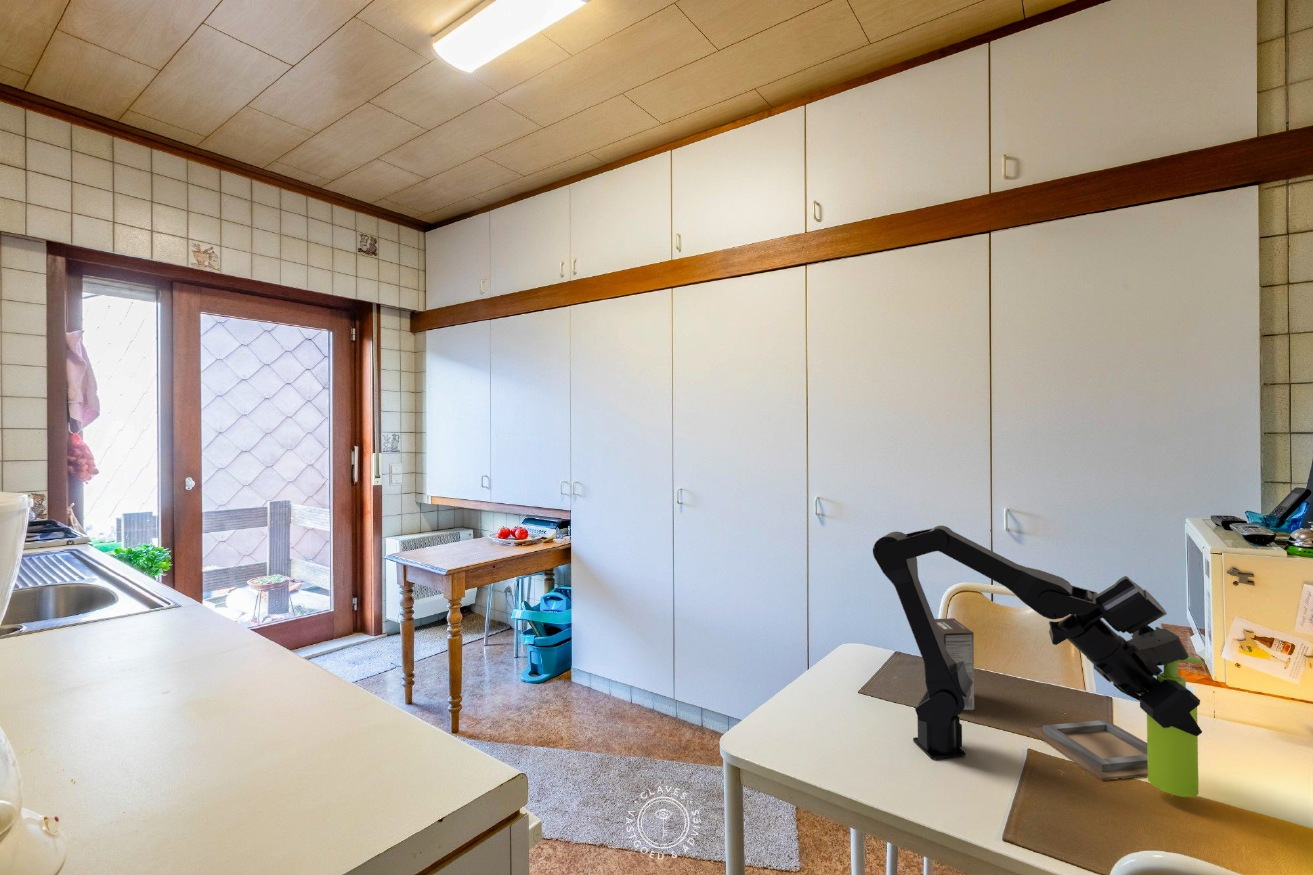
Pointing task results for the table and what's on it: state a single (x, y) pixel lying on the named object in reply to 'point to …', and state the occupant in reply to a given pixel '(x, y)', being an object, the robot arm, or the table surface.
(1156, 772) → the soap dispenser
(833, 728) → the table surface
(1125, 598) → the robot arm
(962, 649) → the coffee box
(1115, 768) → the grey rectangular tray
